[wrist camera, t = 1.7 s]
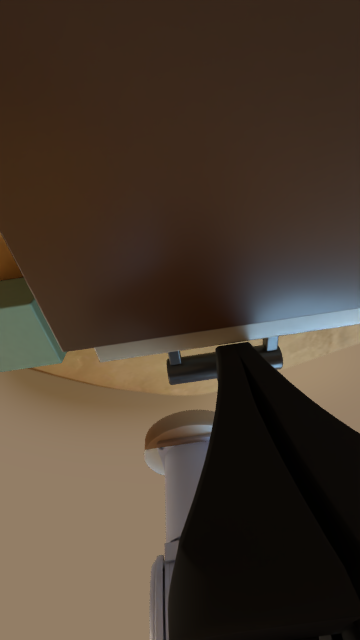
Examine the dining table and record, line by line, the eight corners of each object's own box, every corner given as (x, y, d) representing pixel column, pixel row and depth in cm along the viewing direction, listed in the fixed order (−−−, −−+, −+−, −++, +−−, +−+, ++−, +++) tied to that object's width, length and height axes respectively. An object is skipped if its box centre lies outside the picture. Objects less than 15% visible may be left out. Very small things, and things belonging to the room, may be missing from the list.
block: (80, 324, 18) (62, 363, 14) (25, 332, 18) (-7, 373, 14) (58, 271, 15) (29, 303, 12) (-6, 281, 15) (-51, 315, 12)
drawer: (284, 318, 17) (344, 396, 12) (137, 340, 18) (126, 427, 12) (334, -103, 8) (731, -688, 3) (25, -49, 8) (-265, -494, 3)
